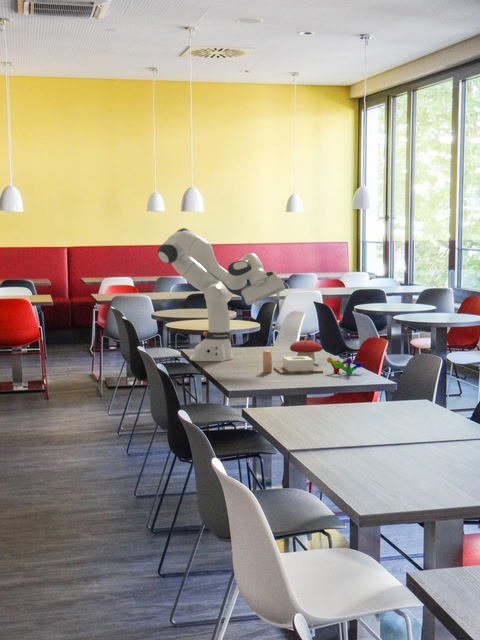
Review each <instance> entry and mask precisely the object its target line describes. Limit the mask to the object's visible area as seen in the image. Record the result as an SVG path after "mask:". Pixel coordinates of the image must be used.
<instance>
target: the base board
mask: <svg viewBox="0 0 480 640" xmlns="http://www.w3.org/2000/svg"><path fill="white" fill-rule="evenodd" d="M273 369H274V371H276V372H277V373H278V374H280V375H303V374H305V375H306V374H324V370H323V369H321V368H319V367H318V366H316V365H314V370H311V371H287V370H286V369H285V368H283V366H273Z"/></svg>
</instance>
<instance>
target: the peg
mask: <svg viewBox="0 0 480 640" xmlns="http://www.w3.org/2000/svg"><path fill="white" fill-rule="evenodd" d="M272 355H273V353H272V350H262V373H263V374H272V372H273V370H272V369H273V366H272V365H273V364H272V363H273V360H272Z"/></svg>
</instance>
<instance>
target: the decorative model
mask: <svg viewBox="0 0 480 640" xmlns="http://www.w3.org/2000/svg"><path fill="white" fill-rule="evenodd" d="M326 362H327V363H330V365H331V366H332V368H333V373H334V374H338V373H339V372H340V369H341V370H343V371H344V372H346V375H348V376H351V375H352V374H353V372H354V371H355V370H356V369H359V368H362V367H363V363H362V362H360V361H358V362H355V361H353V359H352V358H350V357H348V358H347V357H345V358H343V359H342V361H340V360H338V359H337V360H334V359H333V358H332V357H330V356H328V357H327V358H326ZM351 365H354V366H352V367H351Z"/></svg>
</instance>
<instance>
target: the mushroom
mask: <svg viewBox="0 0 480 640" xmlns="http://www.w3.org/2000/svg"><path fill="white" fill-rule="evenodd" d="M308 337H309V338H311V337H312V334H310V333H309V332H307V333H306V335H305V337H304V340H297V341H295V342H293V343H292V344H290V347H289V349H290V351H291V352H295V353H297V356H308V357H310V358H312V359H313V360H314V362H315V360H316V357H315V353H318V352H322V349H323V347H322V345H321V344H320V343H319V342H317V341H313V340H310V339H309V340H307V339H308Z"/></svg>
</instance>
